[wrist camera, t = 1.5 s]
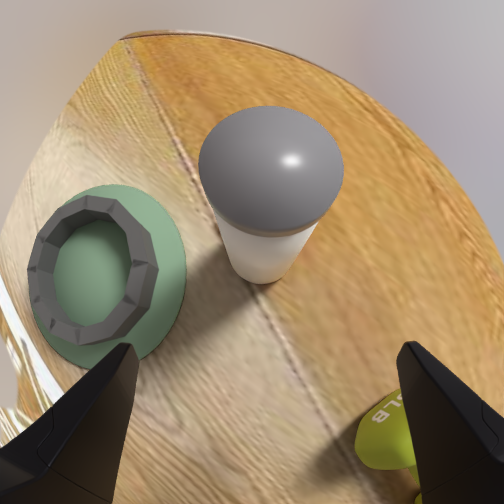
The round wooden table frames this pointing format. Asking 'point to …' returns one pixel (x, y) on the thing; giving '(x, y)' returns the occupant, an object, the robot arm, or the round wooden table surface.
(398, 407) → the dumbbell
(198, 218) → the round wooden table surface
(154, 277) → the green round disc
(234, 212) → the white gray-capped cylinder
